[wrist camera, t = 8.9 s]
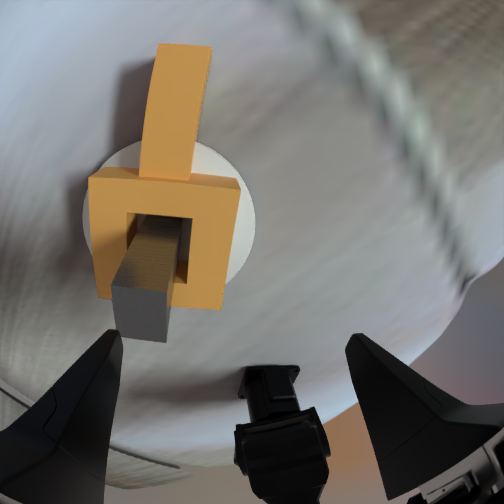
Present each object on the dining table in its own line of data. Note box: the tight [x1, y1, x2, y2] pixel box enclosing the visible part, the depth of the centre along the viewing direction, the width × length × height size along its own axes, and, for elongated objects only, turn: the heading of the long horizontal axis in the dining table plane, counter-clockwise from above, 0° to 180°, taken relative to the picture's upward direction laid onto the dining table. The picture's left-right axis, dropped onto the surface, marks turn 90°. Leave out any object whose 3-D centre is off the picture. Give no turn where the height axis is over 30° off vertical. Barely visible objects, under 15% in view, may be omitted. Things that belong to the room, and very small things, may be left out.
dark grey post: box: [111, 214, 183, 343], centre depth 15 cm, size 3×2×9 cm
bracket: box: [82, 44, 255, 310], centre depth 16 cm, size 19×13×4 cm
